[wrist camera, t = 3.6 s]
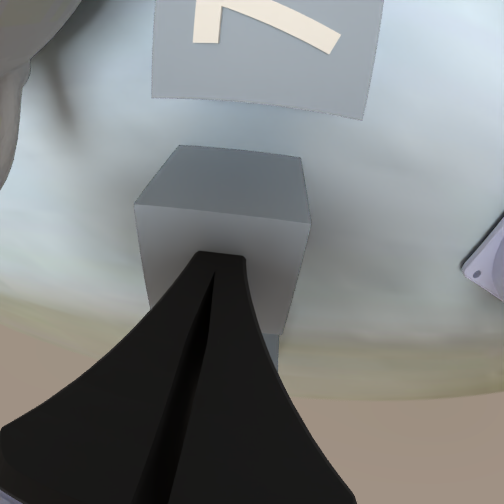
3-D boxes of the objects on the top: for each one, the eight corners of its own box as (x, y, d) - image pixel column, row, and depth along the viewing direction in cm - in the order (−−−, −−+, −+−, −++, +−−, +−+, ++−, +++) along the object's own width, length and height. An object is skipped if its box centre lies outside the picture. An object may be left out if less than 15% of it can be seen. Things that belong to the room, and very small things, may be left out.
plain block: (300, 157, 11) (311, 224, 8) (282, 252, 14) (282, 335, 10) (179, 144, 11) (133, 203, 8) (181, 240, 14) (152, 317, 10)
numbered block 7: (346, -28, 7) (392, -66, 3) (329, 88, 10) (364, 123, 6) (208, -42, 7) (163, -87, 3) (198, 74, 9) (148, 99, 6)
